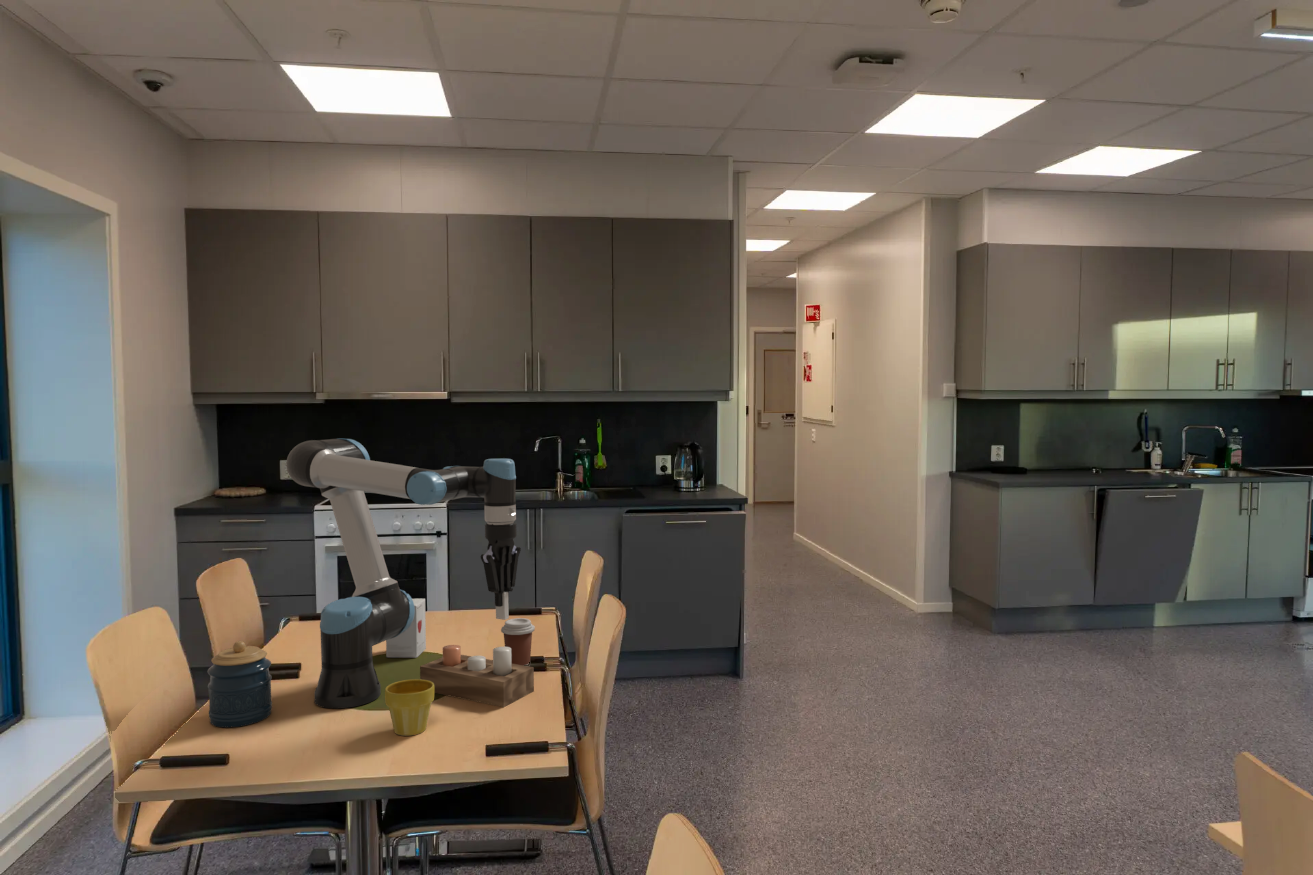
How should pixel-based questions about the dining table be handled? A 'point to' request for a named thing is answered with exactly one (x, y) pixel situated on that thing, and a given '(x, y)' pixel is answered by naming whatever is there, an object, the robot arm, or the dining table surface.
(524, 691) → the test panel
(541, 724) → the dining table surface
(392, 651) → the supplement box
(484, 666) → the grey plug mid
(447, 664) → the terracotta plug
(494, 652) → the grey plug far
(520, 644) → the coffee cup
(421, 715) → the plant pot
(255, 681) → the canister
